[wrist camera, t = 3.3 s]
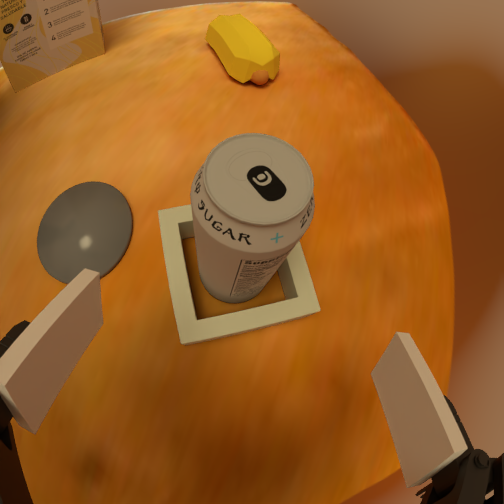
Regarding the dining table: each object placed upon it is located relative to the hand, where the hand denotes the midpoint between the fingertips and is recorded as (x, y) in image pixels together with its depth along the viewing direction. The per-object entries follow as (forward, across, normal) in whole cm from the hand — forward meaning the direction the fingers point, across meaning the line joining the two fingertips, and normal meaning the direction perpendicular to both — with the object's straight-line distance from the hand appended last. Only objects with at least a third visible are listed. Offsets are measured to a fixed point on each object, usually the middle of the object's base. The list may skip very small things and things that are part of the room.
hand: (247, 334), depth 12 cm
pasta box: (+36, -42, +18) cm, 58 cm away
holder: (+14, -1, -5) cm, 15 cm away
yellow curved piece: (+38, -7, +19) cm, 43 cm away
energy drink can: (+14, -1, -5) cm, 15 cm away
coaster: (+14, -17, -4) cm, 22 cm away
